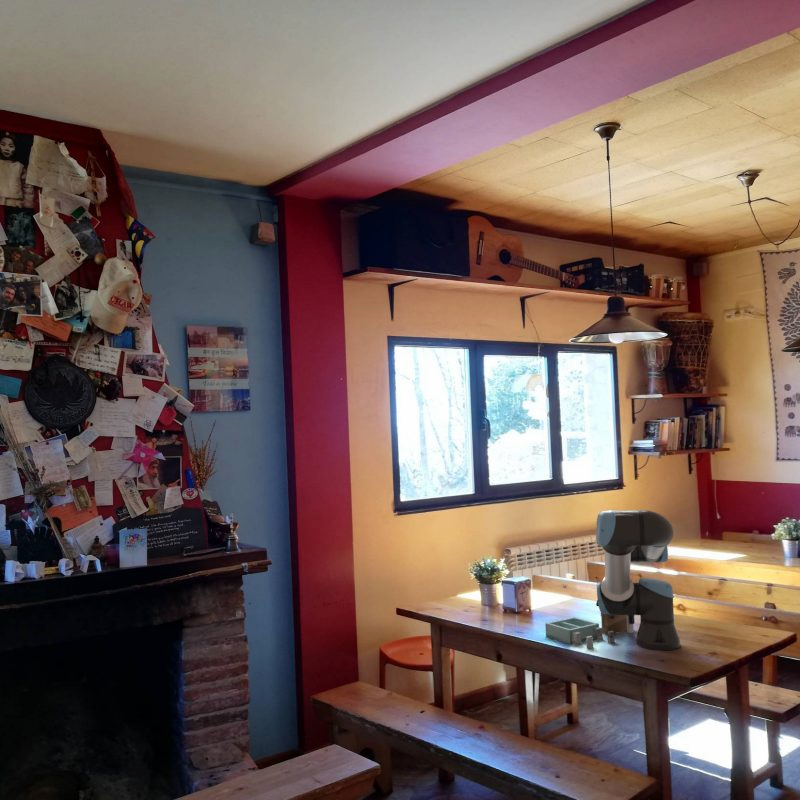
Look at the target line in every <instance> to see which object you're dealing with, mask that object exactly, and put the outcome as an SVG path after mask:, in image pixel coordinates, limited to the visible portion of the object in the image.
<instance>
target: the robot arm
mask: <svg viewBox="0 0 800 800" xmlns="http://www.w3.org/2000/svg"><path fill="white" fill-rule="evenodd" d="M595 528H596V529H595V541H596V544H597V546H600V547H601V548H602V550H604V577H603V578H602V580H601V581H597V583H596V596H597V597H596V598H597V600H596V604H595V605H596V607H598V609H599V612H600V614H601V613H602V614H609V615H627V631H626V632H627V634H630V633H634V632H635V631H634V629H635V628H634V624H635V616H640V619H639V620H640V622H639V623H640V624H639V627H638V630H637V635H636V637H635V638H636V639H635V642H636V643H635V644H636V645H637V646H638V647H641V648H643V649H646V650H647V649H648V650H653V651H654V650H655V651H671V650H676V649H679V648H680V647H681V639H680V637H679V634H678V632H677V628H676V625H675V613H674V612H675V611H674V597H675V596H674V591H673V590H674V589H673V586H672V584H671V583H670V582H668V581H666V580H663V579H658V578H653V577H641V578H639V579H638V582H634V581H632V579H631V563H656V564H660V563H667V562H668V558H669V551H668V550H669V549H668V545H669V544H670V543H672V541H673V538H674V528H673V525H672V523H671V522H670V520H669V519H667V518H666V517H665V516H663V515H662V514H660V513H657V512H655V511H652V510H642V509H641V510H638V509H636V510H632V509H631V510H630V509H629V510H613V509H609V510H601V511H599V513H598V514H597V518H596V527H595Z"/></svg>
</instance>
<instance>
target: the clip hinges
mask: <svg viewBox="0 0 800 800" xmlns="http://www.w3.org/2000/svg"><path fill="white" fill-rule="evenodd" d="M571 634H572V644H571V645H575V646H578V645H582V641H581V633H579V632H572V633H571ZM615 634H616V633H614V631H609V632H608V635H607V644H614V643H615V642H616V640H615ZM603 635H604V634H602V627H600V626H599V627H594V628H593V636H588V637H586V640H585V643H586V649H588V650H589V649H594V640H597V641H599V640H603V639H604V638H603V637H604V636H603Z"/></svg>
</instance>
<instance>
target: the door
mask: <svg viewBox="0 0 800 800" xmlns="http://www.w3.org/2000/svg"><path fill="white" fill-rule="evenodd" d="M600 617H601V628H602V635H606V636H608V632H609V631H614V633H615V634H618V633H619V634H620V633H623V632H627V615H609V614H602V613H601V612H600Z"/></svg>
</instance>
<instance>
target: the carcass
mask: <svg viewBox="0 0 800 800" xmlns="http://www.w3.org/2000/svg"><path fill="white" fill-rule="evenodd" d="M594 627H600V624H599V622H593V621H589V620H587V619H583V618H579V617H574V616H573V617H569V618H564V619H559V620H555V621H549V622H545V638H550V639H552V640H557V641H559V642H563V643H566V644H568V645H573V644H572V634H571V633H572V632H579V633H581V642H584V641H585V642H586V637H588V636H593V628H594Z"/></svg>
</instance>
